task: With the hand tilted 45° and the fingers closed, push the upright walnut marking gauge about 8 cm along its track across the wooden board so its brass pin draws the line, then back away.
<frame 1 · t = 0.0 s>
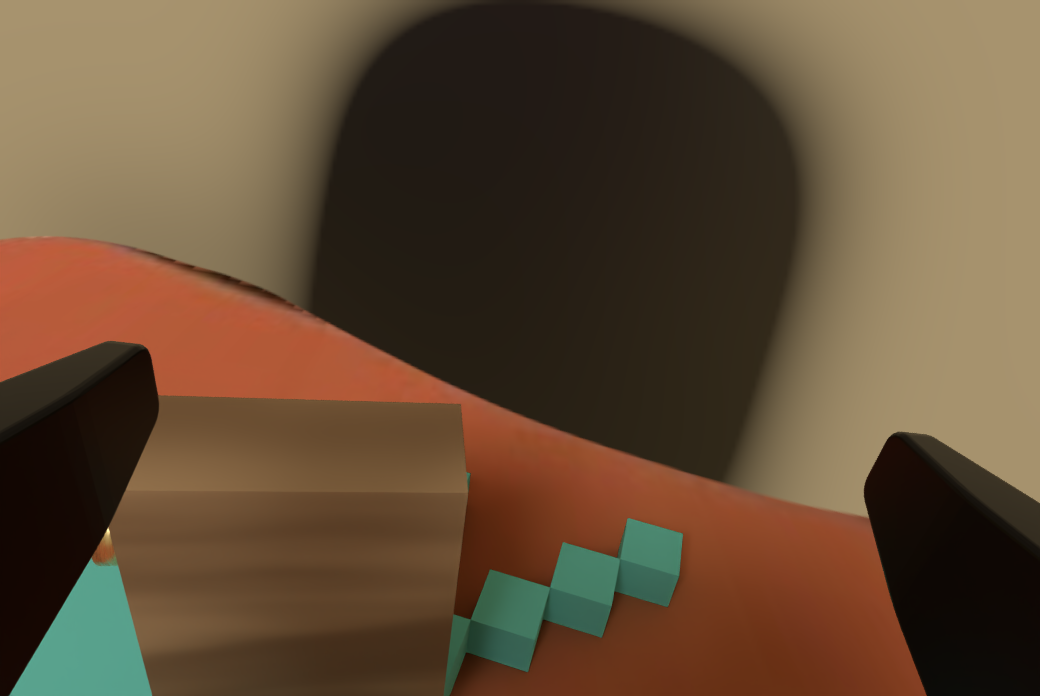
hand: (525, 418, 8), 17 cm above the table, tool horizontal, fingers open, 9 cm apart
marking gauge: (305, 507, 19), point 7 cm above the table, slide at 0.0 cm
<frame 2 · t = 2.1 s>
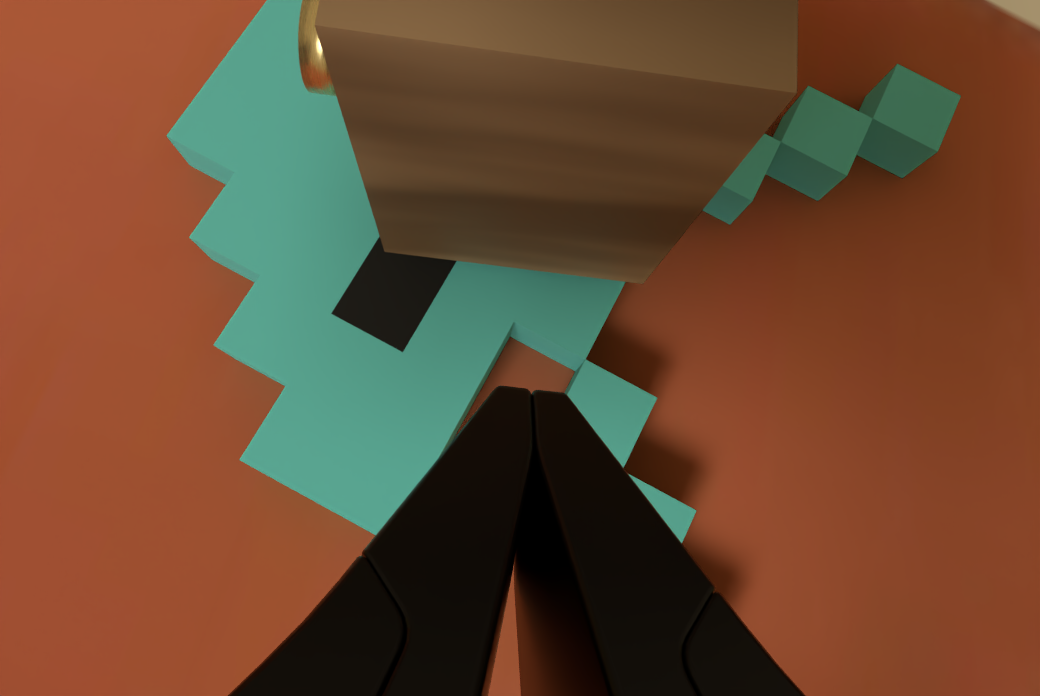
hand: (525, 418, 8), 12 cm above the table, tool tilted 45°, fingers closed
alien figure: (527, 236, 22), on the table
marking gauge: (530, 25, 15), point 7 cm above the table, slide at 0.0 cm
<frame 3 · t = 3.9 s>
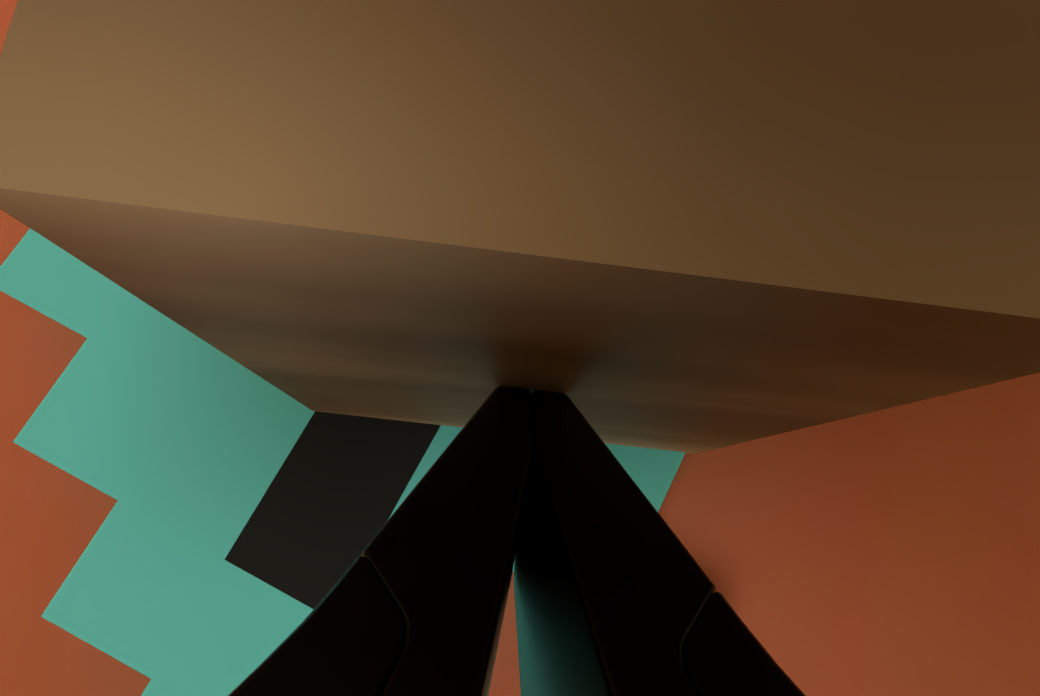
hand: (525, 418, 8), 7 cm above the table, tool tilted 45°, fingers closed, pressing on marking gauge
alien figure: (520, 399, 16), on the table
marking gauge: (529, 90, 9), point 7 cm above the table, slide at 1.1 cm, touching gripper
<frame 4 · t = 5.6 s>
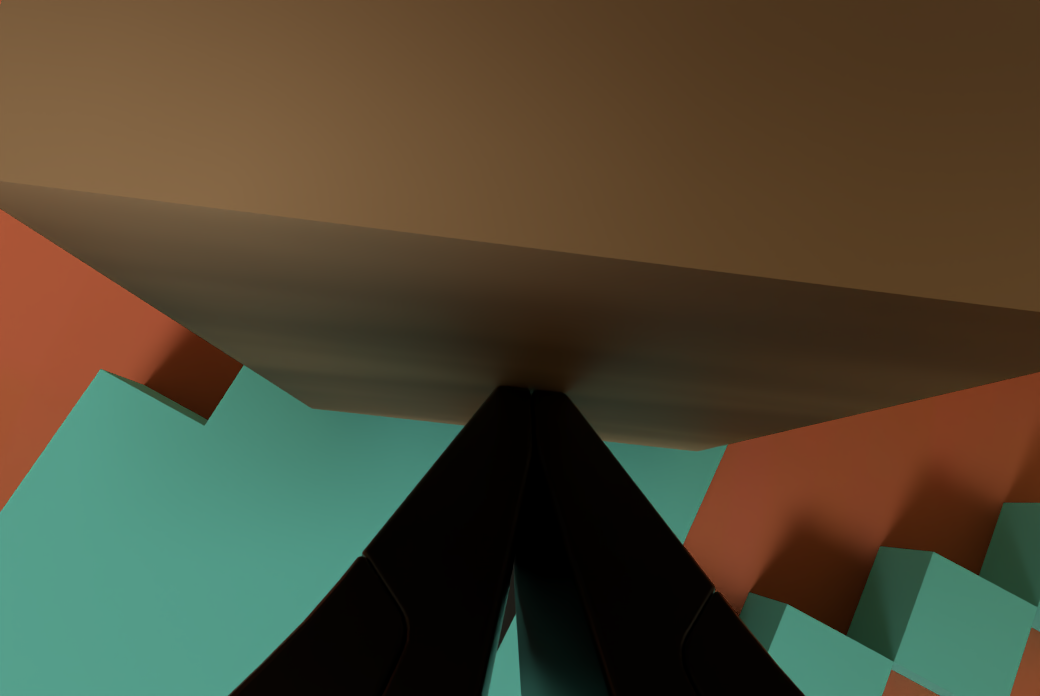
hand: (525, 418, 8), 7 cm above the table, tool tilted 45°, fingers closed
marking gauge: (530, 84, 9), point 7 cm above the table, slide at 8.7 cm
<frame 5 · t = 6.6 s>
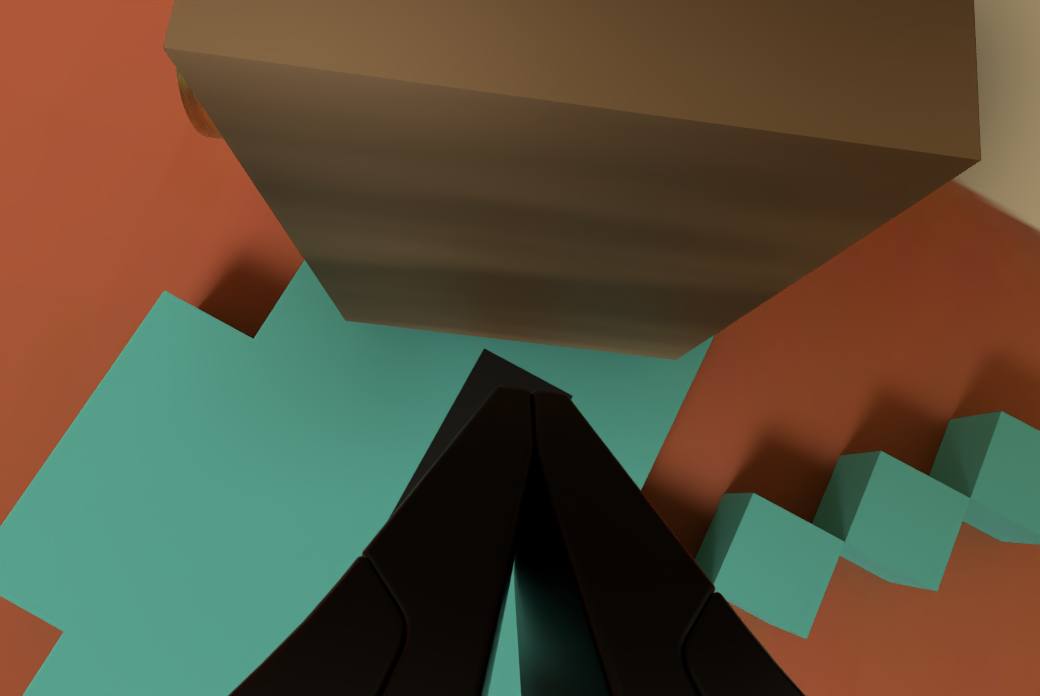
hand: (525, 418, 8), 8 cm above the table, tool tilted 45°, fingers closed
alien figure: (492, 639, 16), on the table
marking gauge: (533, 32, 11), point 7 cm above the table, slide at 8.7 cm
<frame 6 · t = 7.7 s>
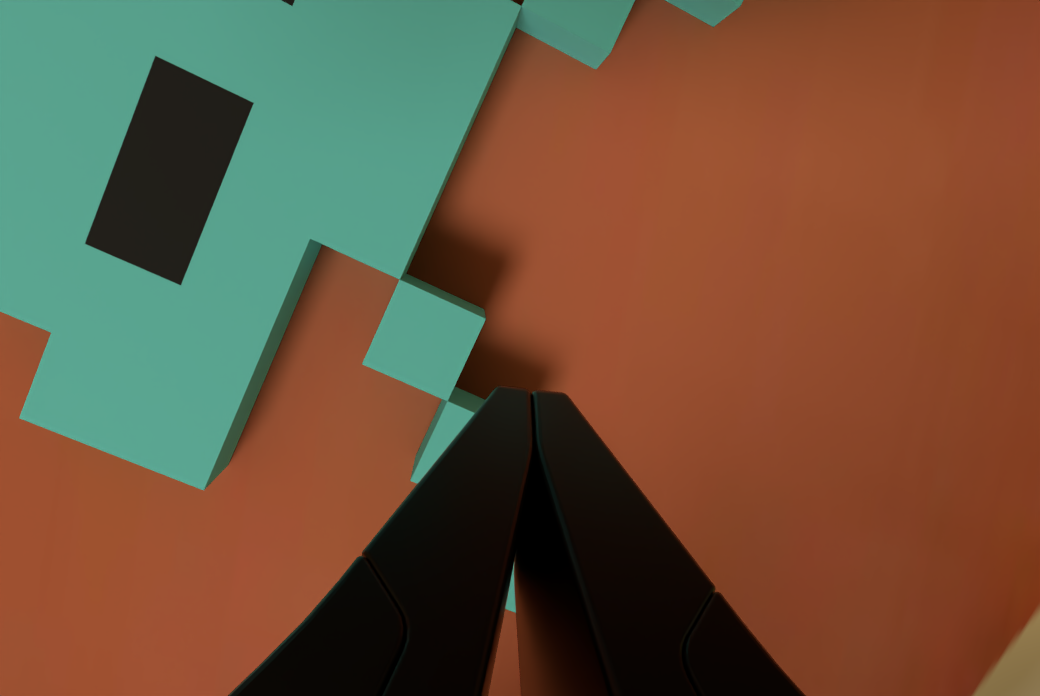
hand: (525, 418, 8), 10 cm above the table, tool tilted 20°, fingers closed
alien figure: (340, 97, 18), on the table
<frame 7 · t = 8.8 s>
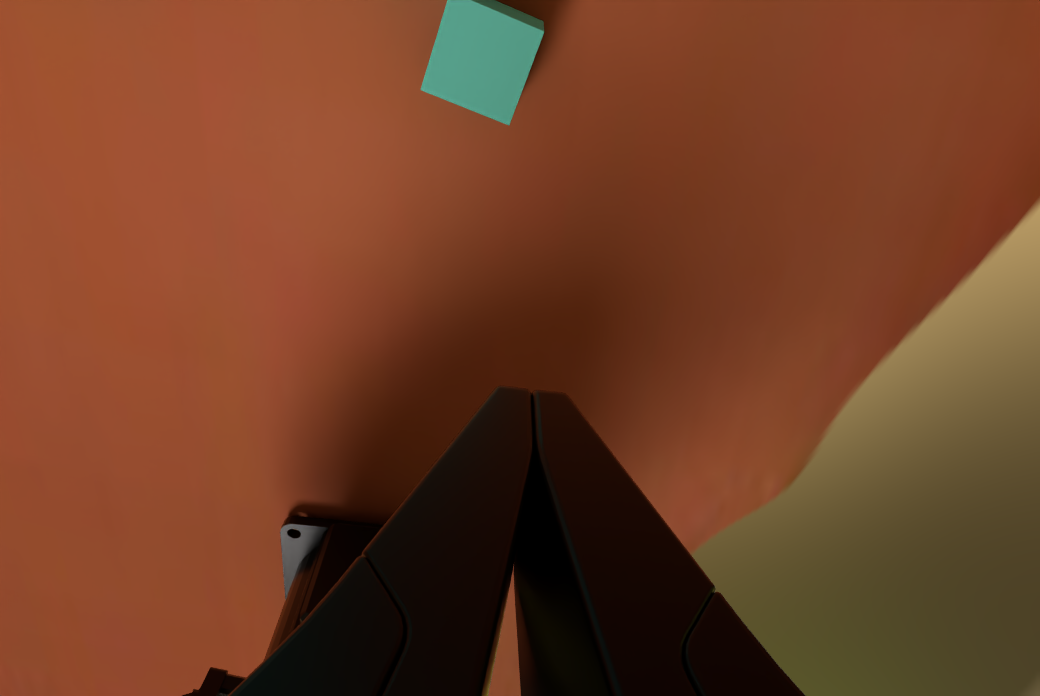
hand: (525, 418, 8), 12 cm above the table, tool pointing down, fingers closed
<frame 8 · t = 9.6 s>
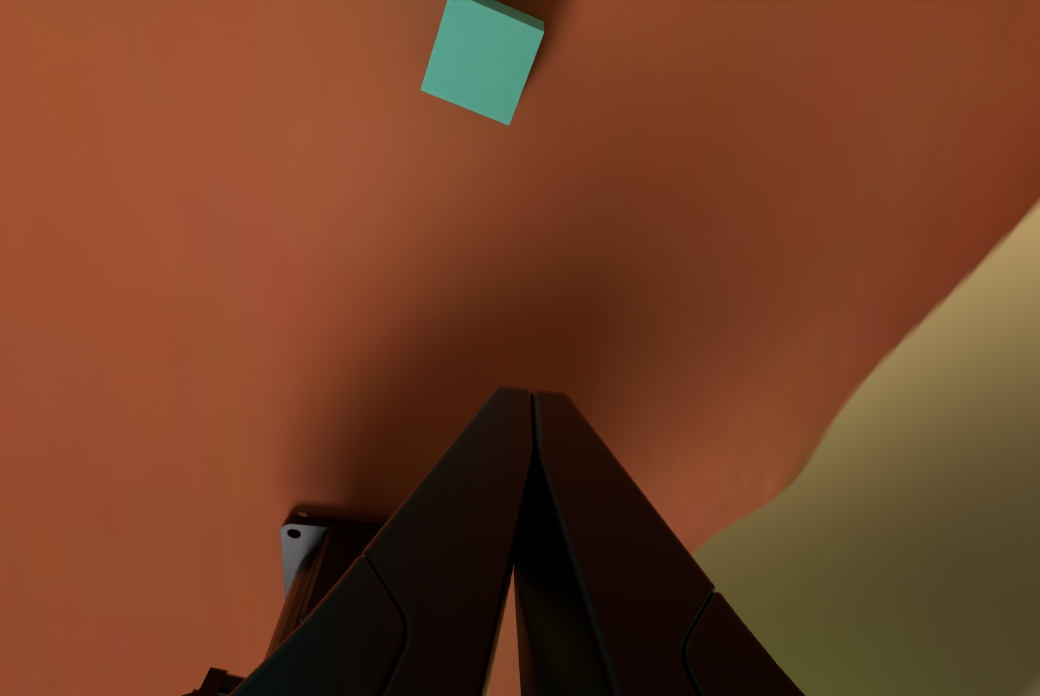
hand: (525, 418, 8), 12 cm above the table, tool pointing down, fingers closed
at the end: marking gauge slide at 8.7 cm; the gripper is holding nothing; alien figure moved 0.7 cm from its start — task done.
